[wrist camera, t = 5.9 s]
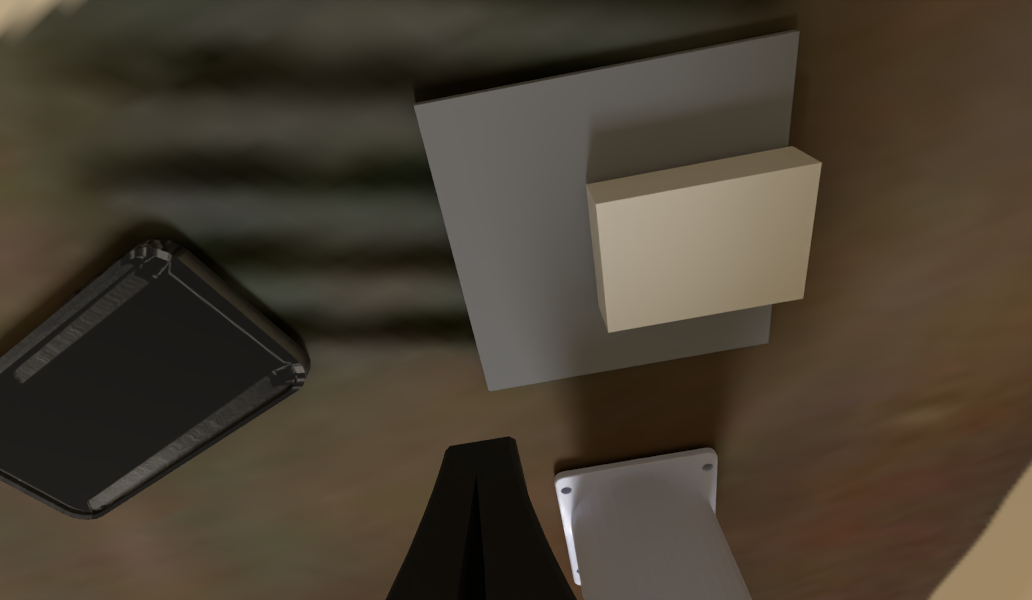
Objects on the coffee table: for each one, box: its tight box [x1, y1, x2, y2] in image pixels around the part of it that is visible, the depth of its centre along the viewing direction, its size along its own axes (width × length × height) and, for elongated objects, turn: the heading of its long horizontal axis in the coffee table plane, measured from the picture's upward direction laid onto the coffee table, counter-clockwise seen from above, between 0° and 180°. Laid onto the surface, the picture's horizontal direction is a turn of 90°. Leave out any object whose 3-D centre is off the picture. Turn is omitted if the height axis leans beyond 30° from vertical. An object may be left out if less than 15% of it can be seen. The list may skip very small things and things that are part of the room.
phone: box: [0, 238, 310, 520], centre depth 22 cm, size 8×1×15 cm
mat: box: [414, 30, 800, 391], centre depth 20 cm, size 12×12×1 cm
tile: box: [586, 146, 822, 333], centre depth 19 cm, size 5×2×7 cm
